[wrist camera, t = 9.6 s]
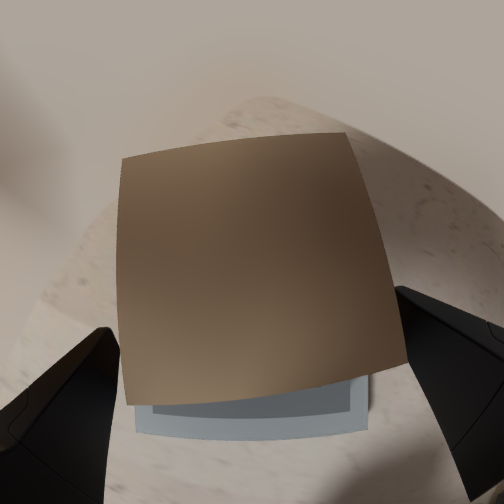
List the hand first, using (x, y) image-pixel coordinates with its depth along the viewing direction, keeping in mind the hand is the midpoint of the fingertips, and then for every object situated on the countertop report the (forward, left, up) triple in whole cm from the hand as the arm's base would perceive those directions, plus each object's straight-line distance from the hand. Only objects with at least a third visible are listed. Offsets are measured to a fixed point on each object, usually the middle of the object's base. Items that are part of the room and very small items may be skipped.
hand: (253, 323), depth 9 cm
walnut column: (+1, 0, -8) cm, 9 cm away
